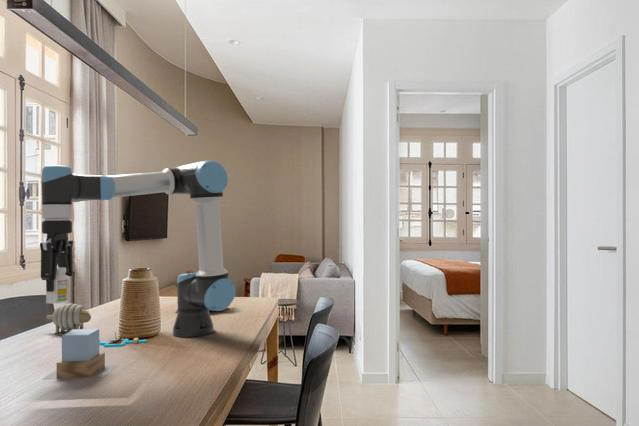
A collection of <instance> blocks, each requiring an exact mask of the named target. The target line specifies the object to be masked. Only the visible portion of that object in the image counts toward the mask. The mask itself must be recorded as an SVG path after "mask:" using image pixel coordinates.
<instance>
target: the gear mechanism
mask: <svg viewBox="0 0 639 426" xmlns="http://www.w3.org/2000/svg"><path fill="white" fill-rule="evenodd" d="M141 343H144V344H145V343H147V339H139V337H134V338H133V339H132V340H129V338H123V335H118V336H117V330H114V338H112V339H108V340H107V341H103V342H102V341H100V339H99V346H103V347H104V348H112V347H115V348H116V347H124V346H126V344H133V345H134V344H141Z"/></svg>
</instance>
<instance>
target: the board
mask: <svg viewBox="0 0 639 426" xmlns="http://www.w3.org/2000/svg"><path fill="white" fill-rule="evenodd" d="M118 366H119V365H105V367H103V368H102V369H101V370H99V371H98V372H97V373H95V374H94V375H93V376H91V377H68V378H67V379H86V378H88V379H89V378H93V379H94V378H104V377H106V375H108V374H109V373H110V372H112V371H113V370H114V369H116V368H117V367H118ZM52 379H53V380H54V379H58V380H59V379H63V378H57V369H55V370H54V371H52V372H51V373H49V374H47V375H46V376H44V377H43V378H42V380H52Z"/></svg>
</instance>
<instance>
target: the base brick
mask: <svg viewBox="0 0 639 426" xmlns="http://www.w3.org/2000/svg"><path fill="white" fill-rule="evenodd" d="M105 354H106V352H105V351H103V352H102V351H101V352H100V351H99V354H98V355H96V356H95V357H93V358H92V359H91V360H89V361H68V362H62V359H60V360H58V361H57V362H56V370H57V378H62V379H69V378H68V377H91V376H93V375H94V374H95V373H97V372H98V371H99V370H101V369H102V368H103V367H105V366H106V356H105Z"/></svg>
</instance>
